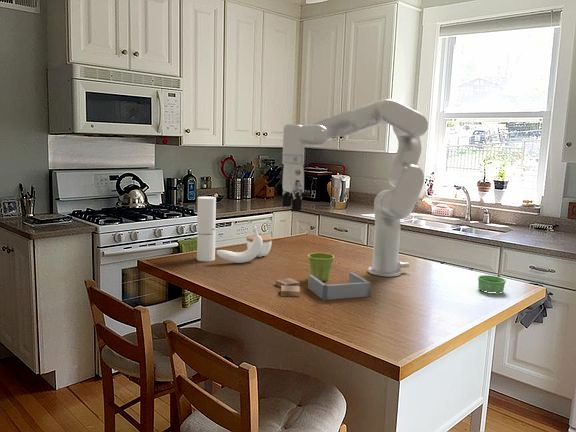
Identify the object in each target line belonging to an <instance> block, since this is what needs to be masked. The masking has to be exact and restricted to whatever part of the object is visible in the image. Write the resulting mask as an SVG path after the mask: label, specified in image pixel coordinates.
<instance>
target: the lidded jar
mask: <svg viewBox="0 0 576 432" xmlns="http://www.w3.org/2000/svg"><path fill="white" fill-rule="evenodd" d="M257 233H258V234H259V235H260V236H261V238H262V241H263V243H262V248H261V250H260V252H259V253H258V255H257V256H256V257H258V258H261V257H262V256H264V257H266V256H267V255H268V254H269V252H270V251H271V249H272V244H273V242H272V241H273V237H272V236H271V235H266V234H261V232H257ZM253 239H254V234H251V235H250V234H249V235H247V236H246V247H247V249H248V248H249V247H250V246H251V244H252V242H253ZM256 257H255V258H256Z"/></svg>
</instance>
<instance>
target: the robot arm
mask: <svg viewBox="0 0 576 432" xmlns="http://www.w3.org/2000/svg"><path fill="white" fill-rule="evenodd" d="M385 124H386V125H387V124H388V125H390V126H392V131H393V132H394V133H393V134H395V136H396V138H397V141H398V142H397V143H398V145H397V146H398V147H397V152H396V153H395V156H394V159H393V161H392V164H391V167H390V168H389V171H388V173H387V181H388V183H389V185H390V186H392V187H394V190H392V189H384V190H381V191H380V192H379V193H377V195H375V197H374V202H373V209H374V234H373V235H374V236H373V246H372V247H373V249H372V264H371V266H369V267H368V268H367V272H368V273H369V274H371V275H374V276H377V277H379V276H380V277H387V278H388V277H389V278H390V277H391V278H393V277H398V276H402V268H406V269H407V268H409V267H410V263H409V262H402V261H399V251H400V240H401V239H400V238H401V237H400V235H401V220H405V219H406V218H408V217H409V216H410V214H411V213H412V212H413V210H414V208H415V206H416V203H417V201H418V199H419V196H420V194H421V191H422V190H423V186H424V183H425V174H424V171H423V170H422V168H421V167H420V166H419V165H418V162H419V161H420V160H419V159H420V157H421V155H422V154H421V153H422V142H421V137H422V136H424V135H425V134H426V133H427V131H428V129H429V122H428V120H427V118H426V116H425V115H424V114H422V113H421V112H419V111H417V110H415V109H413V108H411V107H409V106H407V105H405V104H404V103H401V102H400V101H397V100H395V99H393V98H391V99H390V98H386V99H380V100H375V101H373V102H369V103H366V104H364V105H361V106H359V107H356V108H353V109H349V110H346V111H343V112H341V113H338V114H336V115H333V116H330V117H326V118H323V119H320V120H318V121H314V122H312V123H311V122H310V123H309V124H307V125H303V124H297V123H296V124H295V123H288V124H284V126H283V133H282V134H283V137H282V162H281V163H282V165H283V170H282V182H281V183H282V201H281V203H282V204H281V205H282V207H286V208H288V207H289V208H291V211H301V210H302V200H303V193H304V191H305V170H304V165H305V145H306V146H312V147H321V146H323V145H325V144H326V143H327V142H328V140H329V139H333V138H337V137H343V136H345V137H346V136H351V135H355V134H359V133H361V132H363V131H366V130H369V129H372V128H375V127H378V126H381V125H385ZM291 194H292V195H291Z"/></svg>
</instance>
